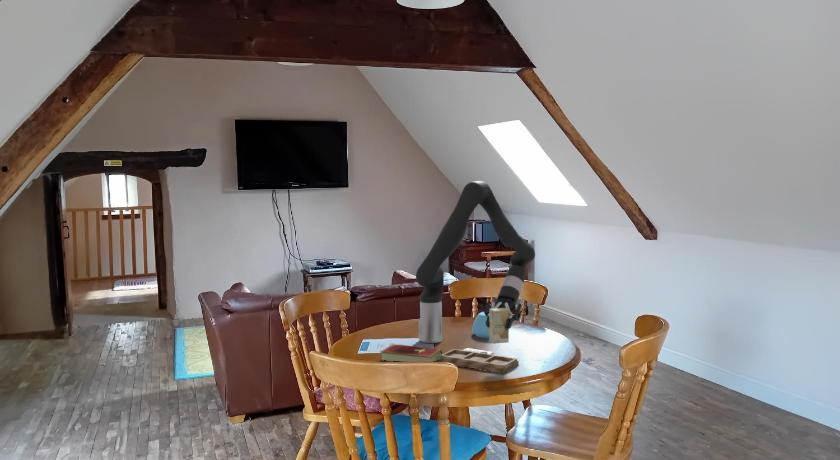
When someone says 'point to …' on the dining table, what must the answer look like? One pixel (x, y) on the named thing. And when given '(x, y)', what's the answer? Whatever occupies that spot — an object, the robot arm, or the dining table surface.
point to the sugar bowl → (480, 326)
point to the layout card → (478, 351)
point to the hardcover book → (410, 353)
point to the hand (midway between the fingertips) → (497, 327)
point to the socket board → (479, 360)
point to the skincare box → (498, 325)
